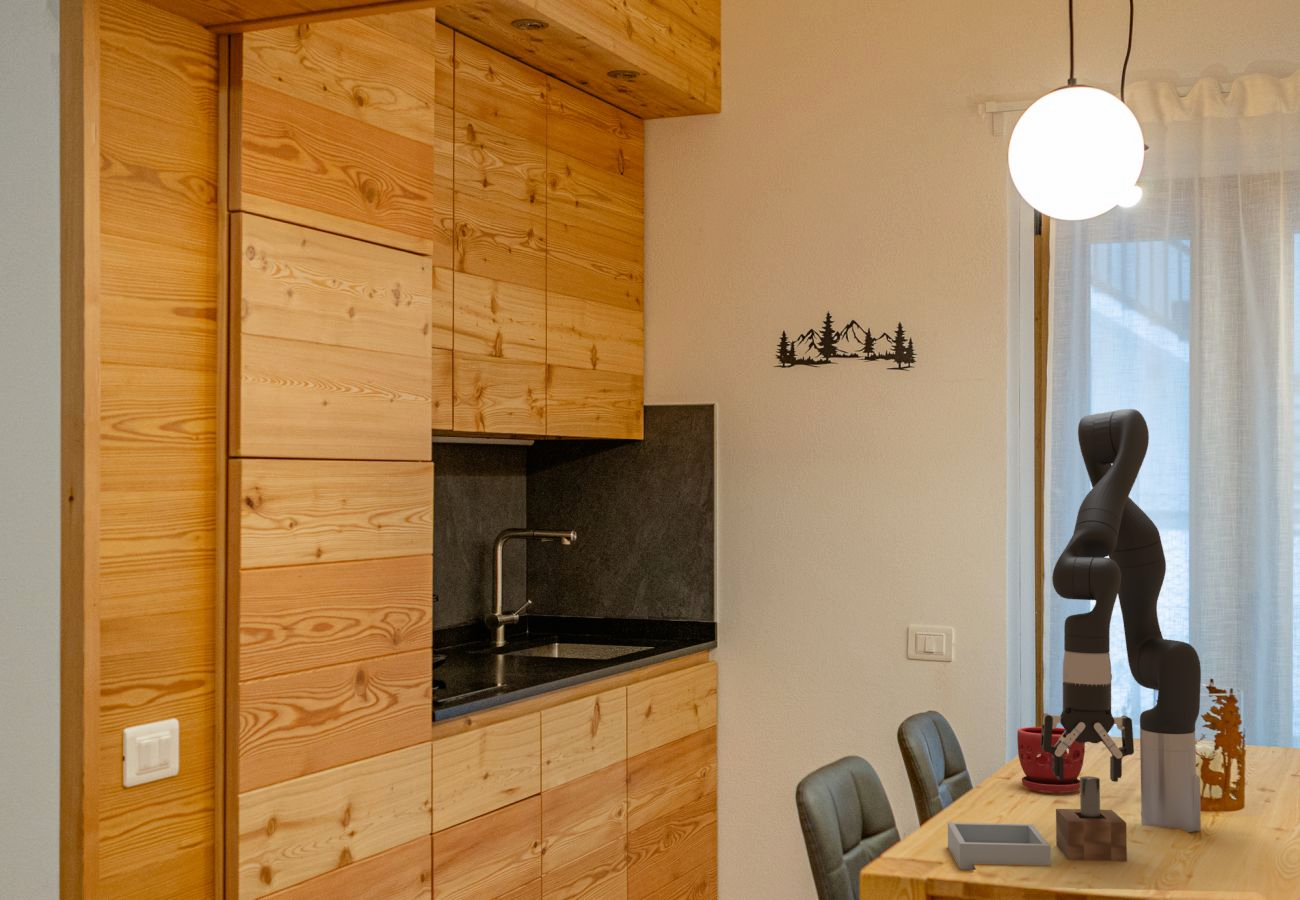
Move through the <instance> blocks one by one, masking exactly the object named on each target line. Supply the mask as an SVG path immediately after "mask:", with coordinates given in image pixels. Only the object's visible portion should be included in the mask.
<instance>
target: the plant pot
mask: <svg viewBox="0 0 1300 900" xmlns="http://www.w3.org/2000/svg"><path fill="white" fill-rule="evenodd" d="M1041 732H1042V726H1030V727H1023V728H1022V727H1021V728H1018V729H1017V734H1016V735H1017V736H1016V737H1017V739H1016V740H1017V741H1016V742H1017V754H1018V760H1019V763H1020V766H1021V769H1022V772H1023V773H1024V775H1025V776H1022V778H1021V783H1022V784H1023V786H1024V787H1025V788H1027V789H1029V790H1032V791H1034V792H1038V793H1039V792H1040V793H1045V794H1055V795H1060V794H1070V793H1073V792H1077V791H1078V790H1079V789H1080V779H1078V777H1079V776H1080V774H1081V771H1082V769H1083V765H1084V759H1085V758H1084V757H1085V752H1086V751H1085V749H1086V748H1085V747H1086V744H1085V743H1086V742H1085V743H1078V742H1076V741H1074V742H1073V743H1072V744H1071V745H1070V746H1069V747H1068V748H1067V749H1068V751H1067V749H1066V750H1065V752H1064V753H1063V754H1062V757H1064V779H1063V780H1058V779H1057V776H1055V775H1054V773H1053V756H1052V754H1050V753H1048V752H1045V751H1044V750H1043V749H1042V748H1041ZM1064 732H1065V728H1064V727H1056V728H1054V729H1052V742H1051V745H1052V746H1055V744H1056V743H1057V742H1058V740H1059V738H1060V737H1061V735H1062V734H1063V733H1064ZM1066 736H1067V735H1066ZM1070 739H1071V738H1070Z"/></svg>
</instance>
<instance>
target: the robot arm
mask: <svg viewBox="0 0 1300 900" xmlns="http://www.w3.org/2000/svg"><path fill="white" fill-rule="evenodd" d="M1077 436H1078V437H1077V438H1078V443H1079V444H1078V445H1079V448H1080V452H1081V456H1082V458H1083V462H1084V466H1085V468H1086V471H1087V475H1088V478H1089V480H1090V484H1091V487H1092V489H1090V491H1089V492H1088V493H1087V494H1086V496H1085V497H1084V499H1083V501H1081V504H1080V506H1079V509H1078V512H1077V516H1076V521H1075V526H1074V530H1073V534H1072V536H1071V538H1070V539H1069V541H1068V543H1067V545H1066V547H1065V548H1064V550H1063V551H1062V553H1061V554H1060V556H1059V557H1058V560H1057V561H1056V562H1055V565H1054V568H1053V571H1052V577H1051V578H1052V586H1053V589H1054V591H1055V592H1056V594H1057V595H1058V596H1059V597H1060V598H1063V599H1066V600H1082V601H1095V604H1094V606H1093V608H1092V609H1091V611H1088V612H1084V613H1077V614H1071V615H1069V616H1067V617H1066V618H1065V620H1064V633H1063V634H1064V635H1063V636H1064V649H1063V650H1064V651H1063V652H1064V654H1063V661H1062V712H1061V714H1060V715H1056V714H1054V715H1053V714H1049V713H1047V712H1046V713H1043V714H1042V719H1041V720H1042V721H1041V727H1042V732H1041V748H1042V749H1043V750H1044V751H1045V752H1048V753H1050V754H1052V756H1053V773H1054V775H1055V776H1057V779H1058V780H1063V779H1064V757H1062V754H1063V753H1064V752H1065V750H1067V749H1068V747H1069V746H1070V745H1071V744H1072V743H1073V742H1074V741H1076V742H1078V743H1091V744H1099V743H1100V742H1102V743H1103V745H1104V746H1105V747H1106V748H1107V750H1108V751H1109V752H1110V754H1111V756H1110V757H1109V761H1110V762H1109V763H1110V764H1109V768H1110V769H1109V772H1110V774H1109V776H1110V781H1111V782H1113V783H1114V782H1117V783H1118V782H1119V779H1121V778H1122V774H1123V772H1122V770H1123V762H1122V761H1123V759H1124V757H1126V756H1132V755H1133V754H1134V753H1135V747H1134V746H1135V745H1134V744H1135V743H1134V734H1133V733H1134V732H1133V719H1132V718H1131V717H1129V716H1127V715H1126V714H1125V715H1122V716H1115V717H1114V716H1113V714H1112V680H1113V674H1112V665H1111V658H1110V657H1111V656H1110V655H1111V654H1110V652H1111V651H1110V648H1111V647H1110V640H1111V639H1110V627H1111V620H1112V615H1113V610H1114V607H1115V604H1116V600H1117V597H1118V601H1119V605H1120V610H1121V615H1122V621H1123V630H1124V637H1125V647H1126V655H1127V661H1128V666H1129V670H1130V672H1131V676H1132V678H1133V679H1134V680H1135V682H1136V683H1137V684H1138V685H1140V686H1141V687H1143V688H1145V689H1150V690H1154V691H1157V703H1156V705H1155V706H1154V707H1152V708H1151V709H1147V710H1143V711H1142V712H1141V713H1140V716H1139V742H1140V743H1139V744H1140V745H1139V746H1140V748H1139V749H1140V751H1139V753H1140V759H1139V760H1140V805H1141V806H1140V809H1141V810H1140V816H1141V817H1140V819H1141V823H1140V824H1141V826H1146V827H1147V826H1148V827H1151V826H1152V827H1158V828H1166V829H1182V830H1184V831H1185V832H1187V833H1193V832H1201V831H1202V827H1201V825H1202V823H1201V822H1202V819H1201V817H1202V815H1201V813H1202V812H1201V811H1202V810H1201V778H1200V776H1199V775H1198V774H1197V760H1196V759H1197V755H1196V754H1197V753H1196V751H1197V750H1196V748H1197V747H1196V745H1197V743H1196V724H1197V720H1198V717H1199V713H1200V707H1201V704H1200V703H1201V683H1202V681H1201V680H1202V674H1201V673H1202V669H1201V661H1200V657H1199V655H1198V652H1197V650H1196V649H1195V647H1193V645H1191V644H1190V643H1187V642H1185V641H1181V640H1174V639H1168V638H1167V639H1165V638H1164V637H1163V634H1162V631H1161V627H1160V623H1159V618H1158V610H1157V609H1158V608H1157V607H1158V600H1159V596H1160V593H1161V590H1162V586H1163V585H1164V581H1165V577H1166V571H1167V570H1166V569H1167V563H1166V561H1167V560H1166V557H1165V552H1164V549H1163V548H1164V547H1163V543H1162V539H1161V534H1160V531H1159V529H1158V528H1157V525H1156V524H1155V523H1154V522H1153V520H1152V519H1151V518H1150V517H1149V516H1148V515H1147V513H1146V512H1145V511H1144V510H1143V509H1141V507H1140V506H1139V505H1137V504H1136V503H1135V502H1134V501H1133V499H1132V498H1130V493H1131V491H1132V489H1133V486H1134V484H1135V482H1136V480H1137V478H1138V474H1139V473H1140V470H1141V467H1142V466H1143V463H1144V460H1145V458H1146V455H1147V451H1148V447H1149V439H1150V435H1149V427H1148V425H1147V421H1146V419H1145V417H1144V415H1143V414H1142V413H1141V412H1140V411H1139V410H1137V409H1133V408H1125V409H1123V408H1122V409H1117V410H1113V411H1108V412H1106V411H1105V412H1100V413H1094V414H1089V415H1086V416H1084V417H1082V418H1081V419H1080V421H1079V422H1078V427H1077ZM1059 723H1060V724H1061V726H1062V728H1065V732H1064V733H1063V734H1062V735H1061V737H1060V738H1059V740H1058V742H1057V743H1056V744H1055V746H1052V745H1051V742H1052V729H1054V728H1057V725H1058V724H1059ZM1114 725H1116V727H1117V729H1118V730H1119V731H1121V744H1122V745H1121V746H1120V747H1118V745H1116V743H1115V741H1114V740H1113V739H1112V737H1111V736H1110V735H1109V732H1110V731H1111V729H1112V728H1113V727H1114ZM1066 735H1067V736H1066ZM1070 738H1071V739H1070Z"/></svg>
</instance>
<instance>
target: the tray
mask: <svg viewBox="0 0 1300 900" xmlns="http://www.w3.org/2000/svg"><path fill="white" fill-rule="evenodd" d="M947 848H948V850H949V852H950V853H951V855H952V857H953V859H954V861H955V863H956V864H957V866H958V869H959V870H966V871H967V870H971V871H977V868H976V866H975V865H976V864H977V865H978V864H979V865H985V864H986V865H1018V866H1019V865H1020V866H1051V865H1052V861H1051V860H1052V858H1051V857H1052V854H1051V851H1052V850H1051V849H1052V848H1051V845H1050V843H1049V842H1048V840H1046V838H1045V837H1044V836H1043V834H1041V832H1040V831H1039V830H1038V828H1037V827H1036V826H1035V825H1034V824H1031V823H1027V824H1025V823H988V822H987V823H985V822H983V823H982V822H974V823H973V822H947ZM974 864H975V865H974Z"/></svg>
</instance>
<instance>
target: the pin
mask: <svg viewBox="0 0 1300 900" xmlns="http://www.w3.org/2000/svg"><path fill="white" fill-rule="evenodd" d="M1100 779H1101V778H1100V777H1098V776H1097V777H1096V776H1087V775H1085V776H1080V777H1079V780H1080V788H1079V789H1080V791H1079V792H1080V794H1079V795H1080V799H1079V800H1080V803H1079V804H1080V809H1081V818H1090V819H1100V810H1101V795H1100V794H1101V793H1100V791H1101V790H1100V789H1101V788H1100V787H1101V785H1100V783H1101V782H1100Z"/></svg>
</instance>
